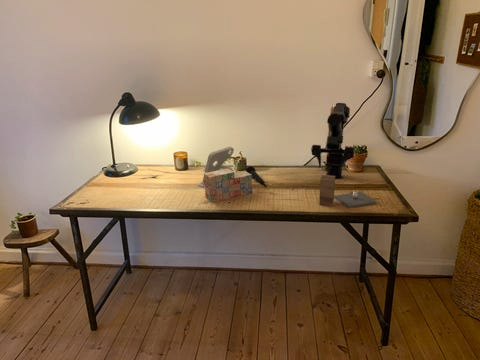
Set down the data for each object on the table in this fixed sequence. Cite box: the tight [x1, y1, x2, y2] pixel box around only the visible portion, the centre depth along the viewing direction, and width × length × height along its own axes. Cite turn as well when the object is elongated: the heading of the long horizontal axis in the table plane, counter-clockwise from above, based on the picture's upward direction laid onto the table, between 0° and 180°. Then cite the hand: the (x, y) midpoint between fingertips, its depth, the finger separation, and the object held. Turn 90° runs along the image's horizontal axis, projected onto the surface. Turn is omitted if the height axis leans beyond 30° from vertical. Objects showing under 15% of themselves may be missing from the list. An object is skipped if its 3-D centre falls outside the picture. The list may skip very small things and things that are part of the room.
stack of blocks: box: [203, 168, 253, 203], centre depth 184 cm, size 21×6×12 cm, turn 117°
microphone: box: [244, 165, 267, 187], centre depth 203 cm, size 6×6×20 cm
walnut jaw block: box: [318, 174, 336, 207], centre depth 173 cm, size 6×6×12 cm
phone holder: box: [197, 146, 234, 189], centre depth 198 cm, size 17×10×18 cm, turn 138°
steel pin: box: [352, 190, 359, 199], centre depth 176 cm, size 2×2×4 cm
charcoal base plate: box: [334, 191, 378, 209], centre depth 177 cm, size 14×12×1 cm
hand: (330, 168), depth 178 cm, fingers open, 9 cm apart
